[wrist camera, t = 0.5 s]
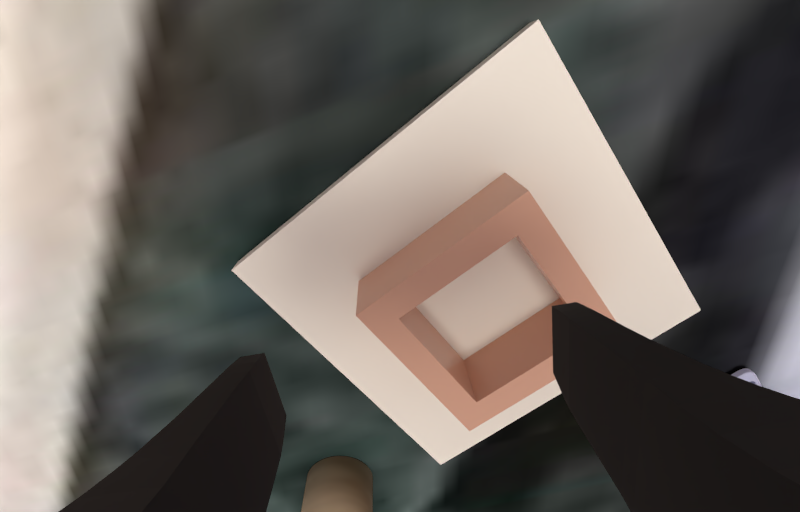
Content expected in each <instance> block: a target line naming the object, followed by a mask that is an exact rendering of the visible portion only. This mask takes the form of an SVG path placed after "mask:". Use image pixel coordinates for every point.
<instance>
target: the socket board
mask: <svg viewBox="0 0 800 512" xmlns="http://www.w3.org/2000/svg"><path fill="white" fill-rule="evenodd" d="M232 271H233V272H234V273H235V274H236V275H237V276H238V277H239V278H240V279H241V280H242V281H244V282H245V283H246V284H247V285H248V286H249V287H250V288H251V289H252V290H253V291H254V292H255V293H256V294H257V295H259V296H260V297H261V298H262V299H263V300H264V301H265V302H266V303H267V304H268V305H269V306H270V307H271V308H273V309H274V310H275V311H276V312H277V313H278V314H279V315H280V316H281V317H282V318H283V319H284V320H285V321H287V322H288V323H289V324H290V325H291V326H292V327H293V328H294V329H295V330H296V331H297V332H298V333H299V334H301V335H302V336H303V337H304V338H305V339H306V340H307V341H308V342H309V343H310V344H311V345H312V346H313V347H315V348H316V349H317V350H318V351H319V352H320V353H321V354H322V355H323V356H324V357H325V358H326V359H327V360H329V361H330V362H331V363H332V364H333V365H334V366H335V367H336V368H337V369H338V370H339V371H340V372H341V373H343V374H344V375H345V376H346V377H347V378H348V379H349V380H350V381H351V382H352V383H353V384H354V385H355V386H357V387H358V388H359V389H360V390H361V391H362V392H363V393H364V394H365V395H366V396H367V397H368V398H369V399H371V400H372V401H373V402H374V403H375V404H376V405H377V406H378V407H379V408H380V409H381V410H382V411H383V412H384V413H386V414H387V415H388V416H389V417H390V418H391V419H392V420H393V421H394V422H395V423H396V424H397V425H398V426H400V427H401V428H402V429H403V430H404V431H405V432H406V433H407V434H408V435H409V436H410V437H411V438H412V439H414V440H415V441H416V442H417V443H418V444H419V445H420V446H421V447H422V448H423V449H424V450H425V451H426V452H428V453H429V454H430V455H431V456H432V457H433V458H434V459H435V460H436V461H437V462H438V463H439V464H440V465H441V464H443V463H445V462H446V461H448V460H450V459H451V458H453V457H455V456H456V455H458V454H460V453H461V452H463V451H465V450H467V449H468V448H470V447H472V446H473V445H475V444H477V443H478V442H480V441H482V440H483V439H485V438H487V437H488V436H490V435H492V434H493V433H495V432H497V431H499V430H500V429H502V428H504V427H505V426H507V425H509V424H510V423H512V422H514V421H515V420H517V419H519V418H520V417H522V416H524V415H525V414H527V413H529V412H530V411H532V410H534V409H536V408H537V407H539V406H541V405H542V404H544V403H546V402H547V401H549V400H551V399H552V398H554V397H556V396H557V395H559V394H561V393H562V392H561V390H560V388H559V385H558V383H557V381H556V378H555V376H554V374H553V344H552V306H555V305H561V304H567V303H573V302H578V303H580V304H582V305H584V306H586V307H588V308H590V309H592V310H594V311H596V312H598V313H600V314H602V315H604V316H606V317H608V318H610V319H612V320H613V321H615V322H617V323H619V324H621V325H623V326H625V327H627V328H629V329H631V330H633V331H635V332H637V333H639V334H641V335H643V336H644V337H646V338H648V339H650V340H652V339H653V338H655V337H657V336H658V335H660V334H662V333H663V332H665V331H667V330H668V329H670V328H672V327H674V326H675V325H677V324H679V323H680V322H682V321H684V320H685V319H687V318H689V317H690V316H692V315H694V314H695V313H697V312H699V311H700V308H699V306H698V304H697V302H696V301H695V299H694V297H693V295H692V293H691V292H690V290H689V288H688V286H687V284H686V283H685V281H684V279H683V277H682V276H681V274H680V272H679V270H678V268H677V267H676V265H675V263H674V261H673V259H672V258H671V256H670V254H669V252H668V250H667V249H666V247H665V245H664V243H663V241H662V240H661V238H660V236H659V234H658V233H657V231H656V229H655V227H654V225H653V224H652V222H651V220H650V218H649V216H648V215H647V213H646V211H645V209H644V207H643V206H642V204H641V202H640V200H639V198H638V197H637V195H636V193H635V191H634V190H633V188H632V186H631V184H630V182H629V181H628V179H627V177H626V175H625V173H624V172H623V170H622V168H621V166H620V164H619V163H618V161H617V159H616V157H615V155H614V154H613V152H612V150H611V148H610V146H609V145H608V143H607V141H606V139H605V138H604V136H603V134H602V132H601V130H600V129H599V127H598V125H597V123H596V121H595V120H594V118H593V116H592V114H591V112H590V111H589V109H588V107H587V105H586V103H585V102H584V100H583V98H582V96H581V95H580V93H579V91H578V89H577V87H576V86H575V84H574V82H573V80H572V78H571V77H570V75H569V73H568V71H567V69H566V68H565V66H564V64H563V62H562V60H561V59H560V57H559V55H558V53H557V52H556V50H555V48H554V46H553V44H552V43H551V41H550V39H549V37H548V35H547V34H546V32H545V30H544V28H543V26H542V25H541V23H540V21H539V20H536V21H533V22H530V23H528V24H527V25H526V26H525V27H523V28H522V29H521V30H520V31H519V32H517V33H516V34H515V35H514V36H512V37H511V38H510V39H509V40H508V41H506V42H505V43H504V44H503V45H502V46H500V47H499V48H498V49H497V50H495V51H494V52H493V53H492V54H491V55H489V56H488V57H487V58H486V59H484V60H483V61H482V62H481V63H480V64H478V65H477V66H476V67H475V68H473V69H472V70H471V71H470V72H469V73H467V74H466V75H465V76H464V77H462V78H461V79H460V80H459V81H458V82H456V83H455V84H454V85H453V86H451V87H450V88H449V89H448V90H447V91H445V92H444V93H443V94H442V95H440V96H439V97H438V98H437V99H436V100H434V101H433V102H432V103H431V104H429V105H428V106H427V107H426V108H425V109H423V110H422V111H421V112H420V113H418V114H417V115H416V116H415V117H414V118H412V119H411V120H410V121H409V122H407V123H406V124H405V125H404V126H403V127H401V128H400V129H399V130H398V131H396V132H395V133H394V134H393V135H392V136H390V137H389V138H388V139H387V140H386V141H384V142H383V143H382V144H381V145H379V146H378V147H377V148H376V149H375V150H373V151H372V152H371V153H370V154H368V155H367V156H366V157H365V158H364V159H362V160H361V161H360V162H359V163H357V164H356V165H355V166H354V167H353V168H351V169H350V170H349V171H348V172H346V173H345V174H344V175H343V176H342V177H340V178H339V179H338V180H337V181H335V182H334V183H333V184H332V185H331V186H329V187H328V188H327V189H326V190H324V191H323V192H322V193H321V194H320V195H318V196H317V197H316V198H315V199H313V200H312V201H311V202H310V203H309V204H307V205H306V206H305V207H304V208H302V209H301V210H300V211H299V212H298V213H296V214H295V215H294V216H293V217H291V218H290V219H289V220H288V221H287V222H285V223H284V224H283V225H282V226H280V227H279V228H278V229H277V230H276V231H274V232H273V233H272V234H271V235H270V236H268V237H267V238H266V239H265V240H263V241H262V242H261V243H260V244H259V245H257V246H256V247H255V248H254V249H252V250H251V251H250V252H249V253H248V254H246V255H245V256H244V257H243V258H241V259H240V260H239V261H238V262H237V263H236V265H235V266H234V268H233V269H232Z"/></svg>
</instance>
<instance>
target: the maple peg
mask: <svg viewBox="0 0 800 512" xmlns="http://www.w3.org/2000/svg"><path fill="white" fill-rule="evenodd" d="M301 512H373V476H372V472H371V471H370V469H369V468H368V466H367V465H366V464H364V463H363V462H361V461H360V460H357V459H355V458H352V457H347V456H333V457H328V458H325V459H323V460H321V461H319V462H317V463H316V464H314V465H313V466H312V467H311V469H310V470H309V472H308V475H307V480H306V486H305V492H304V497H303V503H302V509H301Z"/></svg>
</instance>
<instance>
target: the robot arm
mask: <svg viewBox="0 0 800 512" xmlns="http://www.w3.org/2000/svg"><path fill="white" fill-rule="evenodd" d="M552 344H553V374H554V376H555V378H556V381H557V383H558V385H559V388H560V390H561V392H562V394H563V396H564V399H565V401H566V403H567V405H568V407H569V409H570V411H571V413H572V414H573V416H574V418H575V419H576V421H577V423H578V424H579V426H580V428H581V429H582V431H583V433H584V434H585V436H586V438H587V439H588V441H589V443H590V444H591V446H592V447H593V449H594V451H595V452H596V454H597V456H598V457H599V459H600V460H601V462H602V464H603V465H604V467H605V469H606V470H607V472H608V474H609V475H610V477H611V478H612V480H613V482H614V483H615V485H616V487H617V488H618V490H619V491H620V493H621V495H622V497H623V498H624V500H625V502H626V504H627V505H628V507H629V509H630V511H631V512H800V399H797V398H793V397H790V396H787V395H784V394H781V393H779V392H776V391H773V390H770V389H767V388H764V387H762V385H761V383H760V381H759V380H758V378H757V376H756V374H755V373H754V372H753V371H751V370H750V369H748V368H744V369H740V370H738V371H736V372H735V373H733V374H731V375H729V374H727V373H724V372H722V371H719V370H717V369H714V368H712V367H709V366H707V365H705V364H702V363H700V362H698V361H696V360H693V359H691V358H689V357H687V356H684V355H682V354H680V353H678V352H676V351H673V350H671V349H669V348H667V347H665V346H663V345H661V344H659V343H657V342H655V341H653V340H650V339H648V338H646V337H644V336H643V335H641V334H639V333H637V332H635V331H633V330H631V329H629V328H627V327H625V326H623V325H621V324H619V323H617V322H615V321H613V320H612V319H610V318H608V317H606V316H604V315H602V314H600V313H598V312H596V311H594V310H592V309H590V308H588V307H586V306H584V305H582V304H580V303H578V302H573V303H567V304H561V305H555V306H552ZM285 422H286V413H285V410H284V408H283V405H282V402H281V399H280V396H279V393H278V391H277V388H276V385H275V382H274V379H273V376H272V373H271V371H270V368H269V365H268V362H267V359H266V356H265V354H264V353H262V354H256V355H250V356H244V357H240V358H239V359H237V360H236V361H235V362H234V363H233V364H232V365H231V366H229V367H228V368H227V369H226V370H225V371H224V372H223V373H222V374H221V375H220V376H219V377H218V378H217V379H216V380H215V381H214V382H213V383H211V384H210V385H209V386H208V387H207V388H206V389H205V390H204V391H203V392H202V393H201V394H200V395H199V396H198V397H197V398H196V399H195V400H194V401H193V402H192V403H191V404H190V405H189V406H187V407H186V408H185V409H184V410H183V411H182V412H181V413H180V414H179V415H178V416H177V417H176V418H175V419H174V420H172V421H171V422H170V423H169V424H168V425H167V426H166V427H165V428H163V429H162V430H161V431H160V432H159V433H158V434H157V435H156V436H154V437H153V438H152V439H151V440H150V441H149V442H148V443H147V444H145V445H144V446H143V447H142V448H141V449H140V450H139V451H138V452H136V453H135V454H134V455H133V456H132V457H130V458H129V459H128V460H127V461H125V462H124V463H123V464H122V465H121V466H119V467H118V468H117V469H116V470H114V471H113V472H112V473H110V474H109V475H108V476H107V477H105V478H104V479H103V480H101V481H100V482H99V483H98V484H96V485H95V486H94V487H92V488H91V489H90V490H88V491H87V492H86V493H84V494H83V495H82V496H80V497H79V498H78V499H76V500H75V501H73V502H72V503H71V504H69V505H68V506H66V507H65V508H63V509H62V510H61V511H59V512H266V509H267V506H268V502H269V499H270V495H271V491H272V488H273V484H274V480H275V476H276V472H277V469H278V465H279V461H280V457H281V452H282V445H283V438H284V430H285Z"/></svg>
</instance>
